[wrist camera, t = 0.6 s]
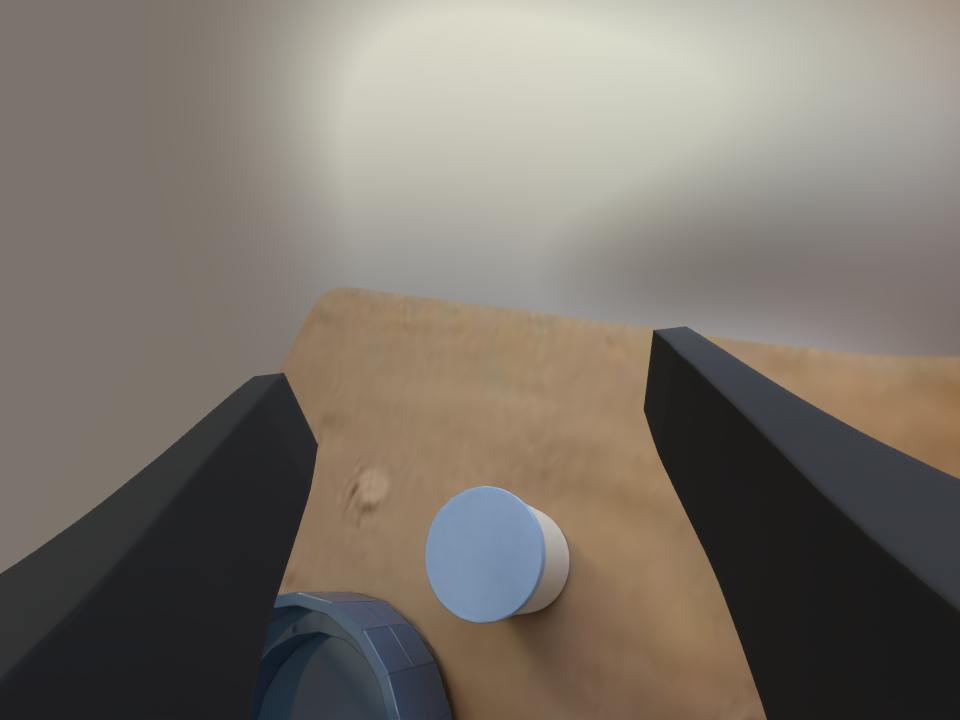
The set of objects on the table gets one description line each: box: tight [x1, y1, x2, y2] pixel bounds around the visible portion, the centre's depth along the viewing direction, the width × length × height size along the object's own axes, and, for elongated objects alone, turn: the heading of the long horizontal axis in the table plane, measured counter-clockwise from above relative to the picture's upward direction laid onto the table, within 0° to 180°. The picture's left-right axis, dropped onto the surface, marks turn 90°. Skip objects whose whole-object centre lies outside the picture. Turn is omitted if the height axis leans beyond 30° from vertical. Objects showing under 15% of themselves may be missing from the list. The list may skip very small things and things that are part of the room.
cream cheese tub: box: [425, 486, 569, 623], centre depth 23 cm, size 6×6×6 cm
